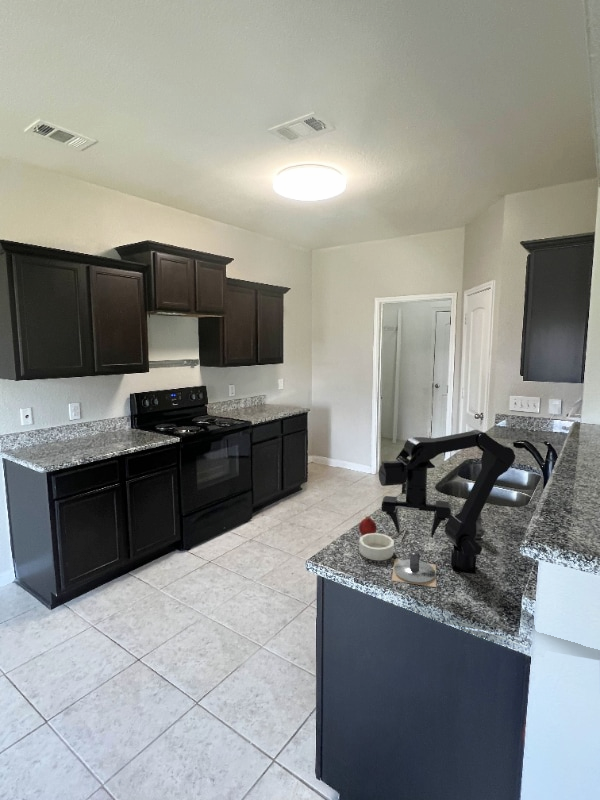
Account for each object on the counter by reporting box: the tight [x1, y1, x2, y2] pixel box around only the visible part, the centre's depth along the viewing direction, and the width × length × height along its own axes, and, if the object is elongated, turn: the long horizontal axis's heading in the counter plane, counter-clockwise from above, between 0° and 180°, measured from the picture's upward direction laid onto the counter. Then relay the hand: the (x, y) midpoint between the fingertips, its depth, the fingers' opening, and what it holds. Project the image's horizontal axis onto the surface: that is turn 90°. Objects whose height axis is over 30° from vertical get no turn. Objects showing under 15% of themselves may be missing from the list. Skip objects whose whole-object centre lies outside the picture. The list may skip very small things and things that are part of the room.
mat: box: [391, 558, 437, 588], centre depth 124 cm, size 12×12×1 cm
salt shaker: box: [474, 512, 486, 544], centre depth 143 cm, size 6×6×12 cm
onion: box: [358, 516, 377, 536], centre depth 145 cm, size 6×6×8 cm
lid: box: [393, 550, 435, 584], centre depth 124 cm, size 12×12×6 cm
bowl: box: [358, 532, 395, 561], centre depth 136 cm, size 11×11×4 cm
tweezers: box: [390, 526, 409, 544], centre depth 150 cm, size 17×5×2 cm, turn 148°
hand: (415, 534), depth 123 cm, fingers open, 9 cm apart
